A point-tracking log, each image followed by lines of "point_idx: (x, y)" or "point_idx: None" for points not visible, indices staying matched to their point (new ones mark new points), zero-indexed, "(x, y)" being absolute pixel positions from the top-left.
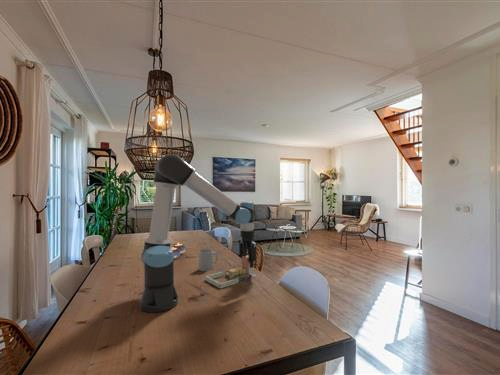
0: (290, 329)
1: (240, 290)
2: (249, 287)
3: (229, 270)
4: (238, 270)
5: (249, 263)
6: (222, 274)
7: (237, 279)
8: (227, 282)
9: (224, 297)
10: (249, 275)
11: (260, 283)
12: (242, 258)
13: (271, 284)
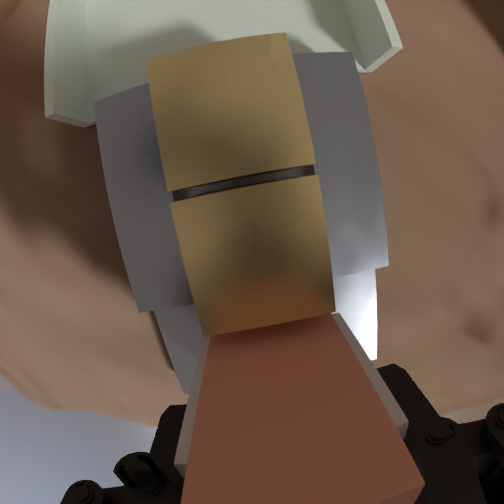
0: None
1: (5, 114)
2: (14, 203)
3: (265, 35)
4: (175, 177)
5: (184, 447)
6: (373, 43)
7: (50, 104)
8: (54, 2)
9: (4, 8)
10: None
11: (54, 327)
12: (384, 447)
13: (30, 372)
